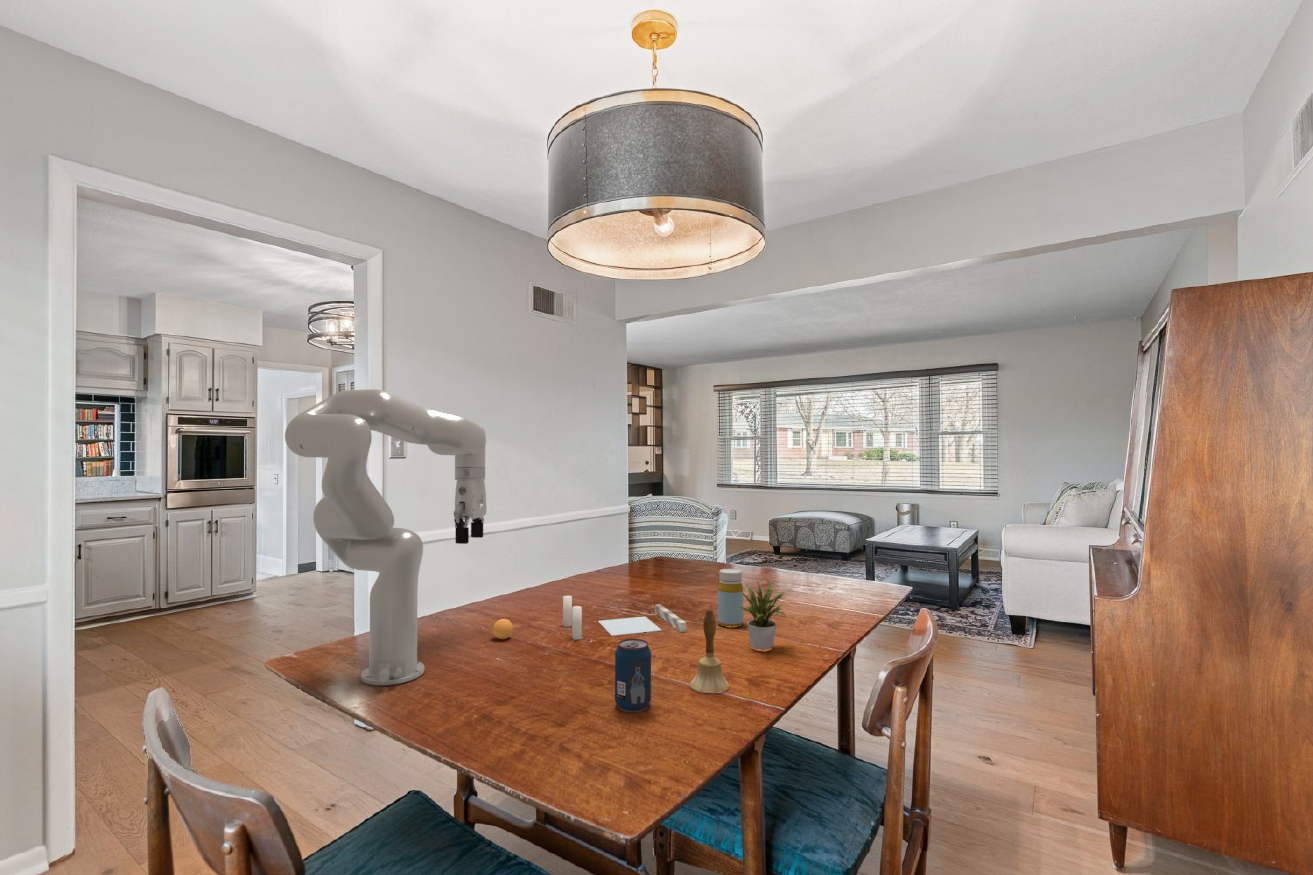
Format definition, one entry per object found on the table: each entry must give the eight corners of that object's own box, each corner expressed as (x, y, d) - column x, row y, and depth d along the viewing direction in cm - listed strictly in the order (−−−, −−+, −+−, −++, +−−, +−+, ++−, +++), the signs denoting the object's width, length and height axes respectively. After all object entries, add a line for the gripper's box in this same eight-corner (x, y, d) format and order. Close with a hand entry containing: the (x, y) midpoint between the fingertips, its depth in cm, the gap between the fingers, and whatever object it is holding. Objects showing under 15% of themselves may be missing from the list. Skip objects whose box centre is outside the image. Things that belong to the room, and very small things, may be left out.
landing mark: (661, 630, 167) (661, 630, 167) (611, 636, 162) (611, 635, 162) (644, 617, 180) (644, 616, 180) (598, 621, 175) (598, 620, 175)
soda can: (631, 695, 124) (631, 635, 124) (658, 705, 119) (658, 642, 119) (607, 706, 118) (607, 643, 118) (634, 717, 114) (634, 651, 114)
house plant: (793, 662, 143) (793, 591, 143) (733, 658, 145) (733, 588, 146) (792, 643, 157) (792, 578, 157) (737, 639, 159) (737, 575, 160)
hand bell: (731, 694, 124) (731, 615, 124) (690, 694, 124) (690, 614, 125) (727, 679, 133) (728, 604, 133) (688, 678, 133) (689, 603, 133)
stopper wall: (686, 631, 166) (686, 622, 166) (680, 632, 165) (680, 623, 165) (660, 612, 185) (660, 604, 185) (655, 613, 184) (655, 604, 184)
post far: (572, 626, 170) (572, 597, 170) (563, 627, 169) (564, 597, 169) (570, 623, 172) (570, 595, 172) (562, 624, 172) (562, 595, 172)
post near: (582, 639, 159) (582, 607, 159) (573, 640, 158) (573, 608, 158) (580, 636, 161) (580, 605, 161) (571, 637, 160) (571, 606, 160)
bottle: (742, 621, 176) (742, 568, 176) (743, 629, 169) (743, 573, 169) (717, 620, 176) (718, 568, 176) (717, 628, 169) (718, 573, 169)
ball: (513, 640, 158) (514, 620, 158) (493, 642, 156) (493, 622, 156) (511, 634, 162) (511, 615, 162) (491, 636, 161) (492, 617, 161)
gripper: (470, 476, 151) (470, 546, 151) (496, 472, 168) (495, 535, 168) (441, 475, 152) (441, 545, 152) (469, 472, 169) (469, 535, 169)
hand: (469, 540), depth 160 cm, fingers open, 9 cm apart
